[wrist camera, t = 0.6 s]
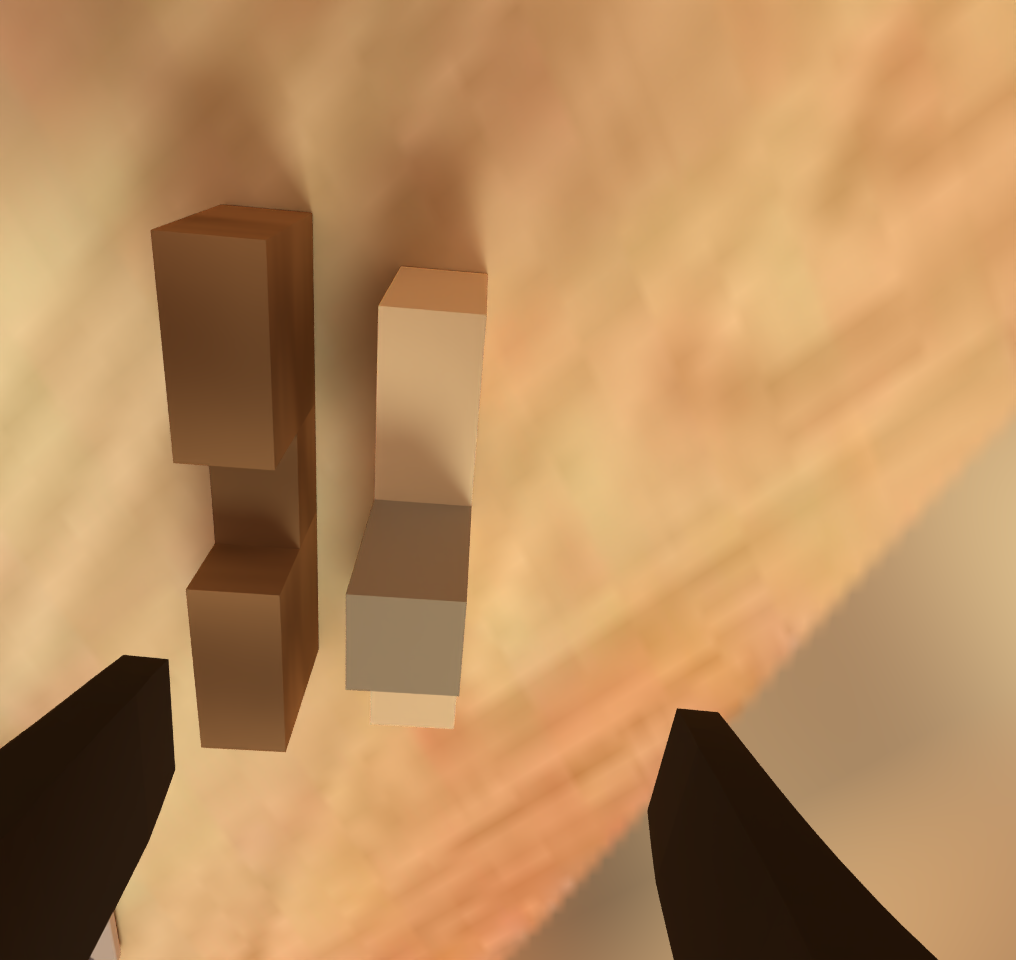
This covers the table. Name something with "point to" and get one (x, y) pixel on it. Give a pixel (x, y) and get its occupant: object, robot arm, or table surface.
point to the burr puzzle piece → (419, 500)
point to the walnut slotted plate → (246, 458)
